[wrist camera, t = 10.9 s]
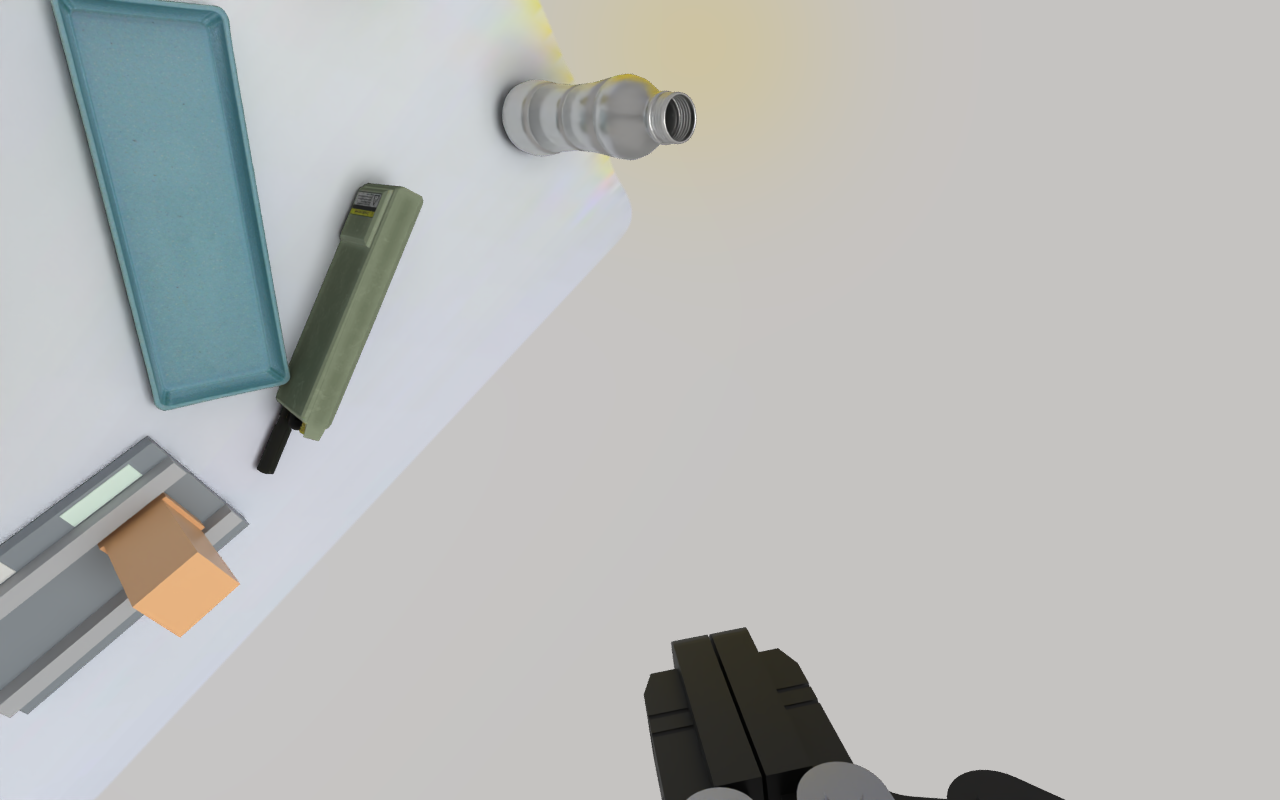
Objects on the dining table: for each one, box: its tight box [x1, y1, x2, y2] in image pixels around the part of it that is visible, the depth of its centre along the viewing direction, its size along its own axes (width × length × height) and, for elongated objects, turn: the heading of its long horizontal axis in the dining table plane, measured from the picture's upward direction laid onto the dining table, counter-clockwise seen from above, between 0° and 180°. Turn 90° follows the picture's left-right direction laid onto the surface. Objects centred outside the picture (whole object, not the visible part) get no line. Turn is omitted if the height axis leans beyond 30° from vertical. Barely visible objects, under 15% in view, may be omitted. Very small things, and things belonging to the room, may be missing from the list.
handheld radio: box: [257, 183, 423, 474], centre depth 54 cm, size 7×3×25 cm
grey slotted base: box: [0, 436, 249, 718], centre depth 48 cm, size 18×10×3 cm, turn 117°
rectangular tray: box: [51, 0, 290, 411], centre depth 47 cm, size 26×9×2 cm, turn 179°
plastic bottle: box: [502, 74, 696, 160], centre depth 58 cm, size 6×7×20 cm
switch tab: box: [98, 492, 240, 637], centre depth 47 cm, size 5×4×10 cm
